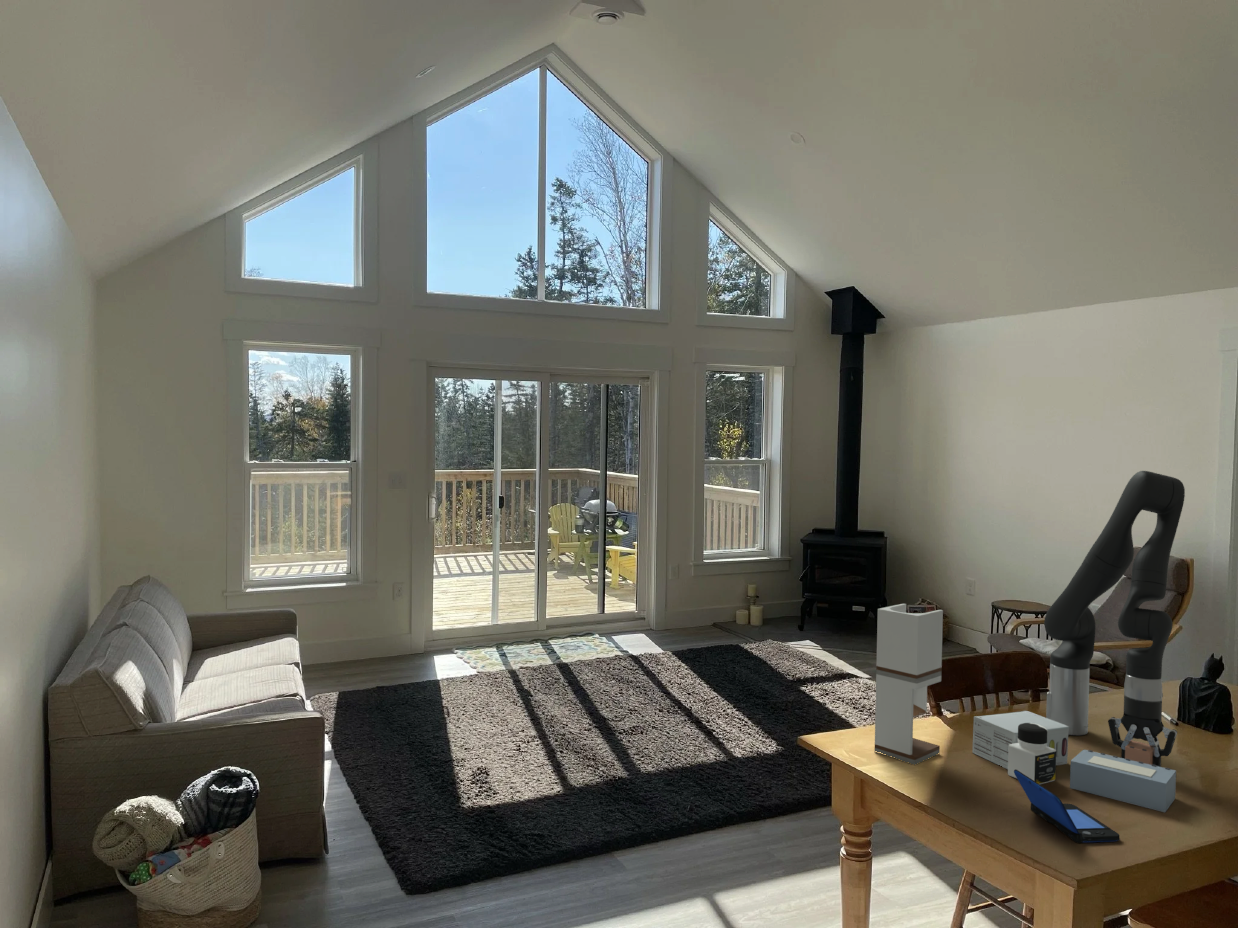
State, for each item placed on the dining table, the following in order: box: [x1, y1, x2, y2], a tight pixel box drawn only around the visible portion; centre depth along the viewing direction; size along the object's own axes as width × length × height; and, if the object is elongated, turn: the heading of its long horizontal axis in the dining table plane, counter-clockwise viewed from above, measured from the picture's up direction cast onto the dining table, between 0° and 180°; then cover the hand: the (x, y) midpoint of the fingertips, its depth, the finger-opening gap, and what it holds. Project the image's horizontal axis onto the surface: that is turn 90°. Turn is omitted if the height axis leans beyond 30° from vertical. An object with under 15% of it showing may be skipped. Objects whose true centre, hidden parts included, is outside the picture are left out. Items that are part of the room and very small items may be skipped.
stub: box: [1125, 740, 1154, 765], centre depth 200 cm, size 5×6×6 cm
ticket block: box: [1069, 749, 1177, 813], centre depth 188 cm, size 18×10×6 cm, turn 47°
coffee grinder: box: [874, 603, 944, 766], centre depth 210 cm, size 11×11×35 cm
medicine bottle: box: [1007, 723, 1057, 785], centre depth 196 cm, size 7×7×12 cm
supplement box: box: [972, 710, 1069, 770], centre depth 208 cm, size 17×13×9 cm
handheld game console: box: [1014, 769, 1121, 844], centre depth 172 cm, size 16×13×9 cm
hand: (1140, 767), depth 201 cm, fingers closed on stub, 5 cm apart
